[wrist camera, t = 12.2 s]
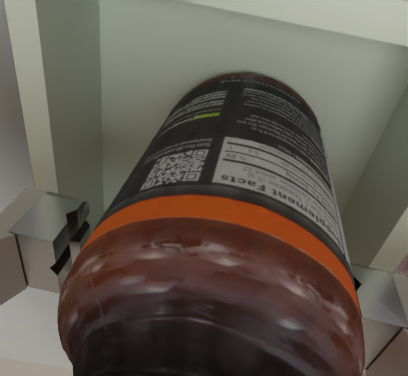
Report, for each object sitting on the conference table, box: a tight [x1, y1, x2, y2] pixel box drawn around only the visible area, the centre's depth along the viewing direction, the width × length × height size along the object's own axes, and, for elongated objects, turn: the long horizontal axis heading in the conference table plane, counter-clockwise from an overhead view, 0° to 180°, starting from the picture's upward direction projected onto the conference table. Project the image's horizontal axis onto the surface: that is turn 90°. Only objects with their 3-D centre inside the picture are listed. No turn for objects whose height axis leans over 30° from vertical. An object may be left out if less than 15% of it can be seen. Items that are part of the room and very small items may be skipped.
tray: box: [4, 0, 408, 272], centre depth 13 cm, size 12×12×4 cm
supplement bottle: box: [58, 73, 365, 376], centre depth 9 cm, size 6×6×11 cm
